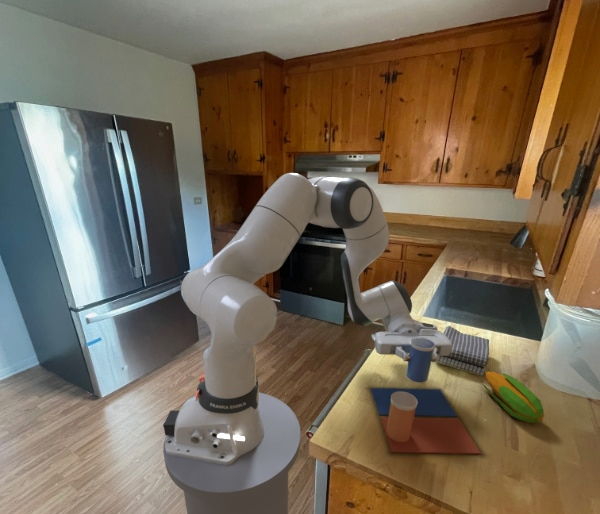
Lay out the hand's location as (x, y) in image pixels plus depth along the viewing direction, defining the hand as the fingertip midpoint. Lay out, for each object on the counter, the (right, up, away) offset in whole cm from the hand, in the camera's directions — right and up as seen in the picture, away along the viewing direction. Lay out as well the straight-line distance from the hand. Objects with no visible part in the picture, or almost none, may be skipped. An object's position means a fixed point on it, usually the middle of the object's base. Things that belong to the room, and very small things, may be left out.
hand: (421, 359), depth 83 cm
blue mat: (0, -13, +6) cm, 14 cm away
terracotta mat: (0, -17, -5) cm, 18 cm away
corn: (+25, -13, +7) cm, 30 cm away
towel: (+23, -5, +28) cm, 37 cm away
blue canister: (0, -5, +3) cm, 6 cm away
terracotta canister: (-7, -17, -5) cm, 19 cm away
